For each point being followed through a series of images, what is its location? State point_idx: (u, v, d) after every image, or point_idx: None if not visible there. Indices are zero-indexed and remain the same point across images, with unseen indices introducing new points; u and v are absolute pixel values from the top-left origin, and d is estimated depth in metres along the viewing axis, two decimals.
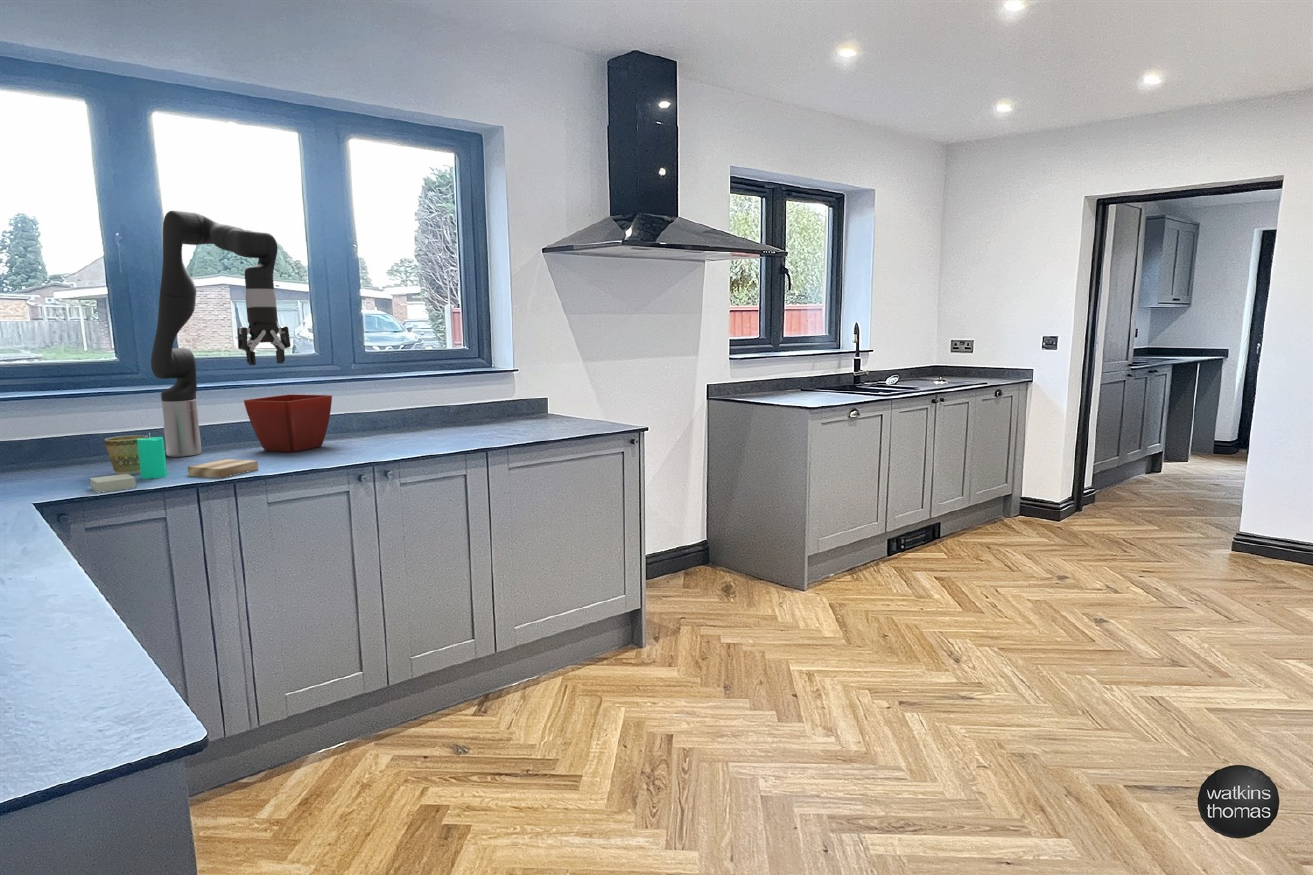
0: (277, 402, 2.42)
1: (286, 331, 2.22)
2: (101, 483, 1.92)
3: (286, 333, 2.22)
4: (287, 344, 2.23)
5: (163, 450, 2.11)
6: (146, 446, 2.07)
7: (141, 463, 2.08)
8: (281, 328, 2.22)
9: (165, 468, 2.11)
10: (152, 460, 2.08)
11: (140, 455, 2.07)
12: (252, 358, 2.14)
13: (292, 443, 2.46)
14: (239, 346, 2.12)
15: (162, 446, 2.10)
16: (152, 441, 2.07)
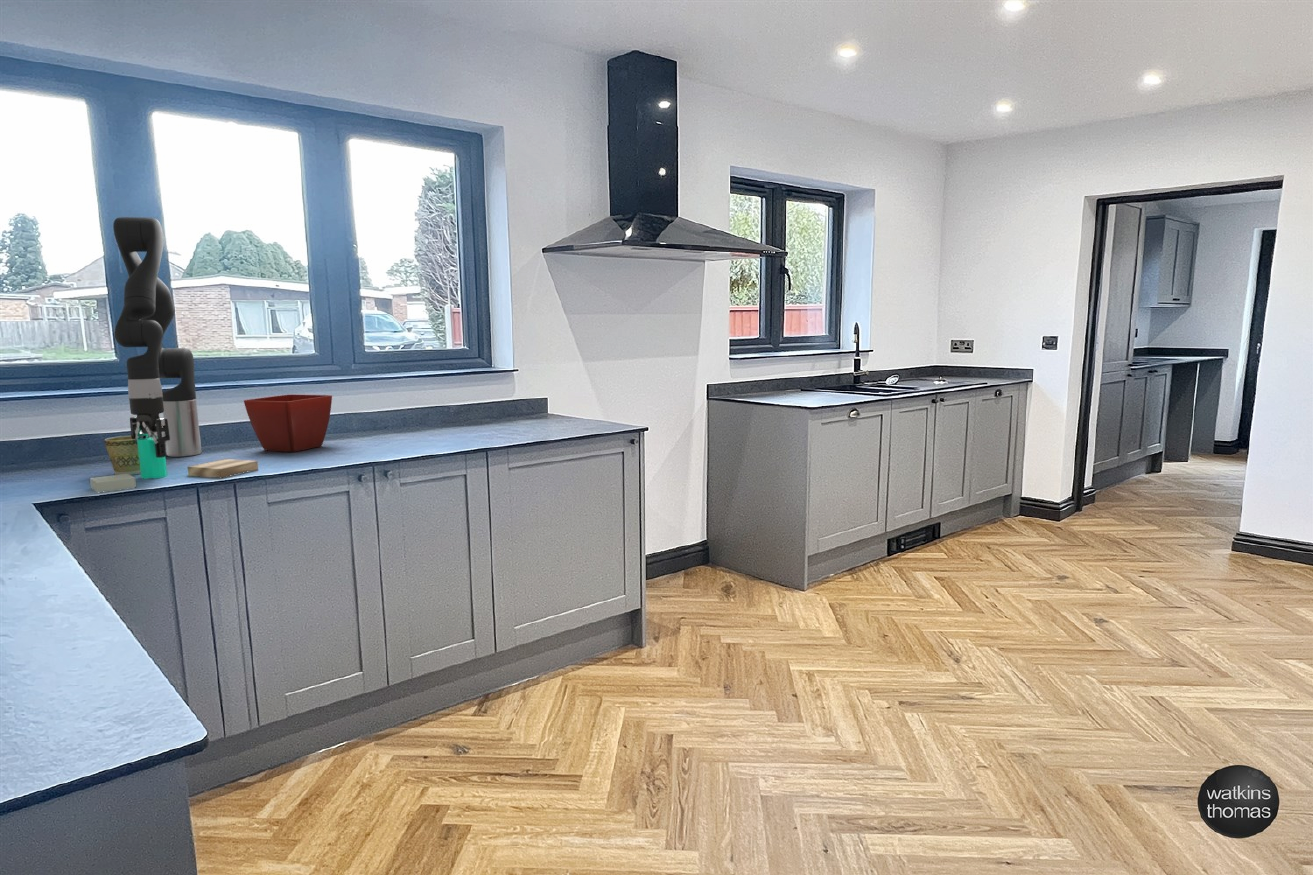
0: (277, 402, 2.42)
1: None
2: (101, 483, 1.92)
3: None
4: None
5: None
6: (146, 446, 2.07)
7: (141, 463, 2.08)
8: None
9: (165, 468, 2.11)
10: (152, 460, 2.08)
11: (140, 455, 2.07)
12: (164, 449, 2.08)
13: (292, 443, 2.46)
14: (162, 438, 2.05)
15: None
16: (152, 441, 2.07)
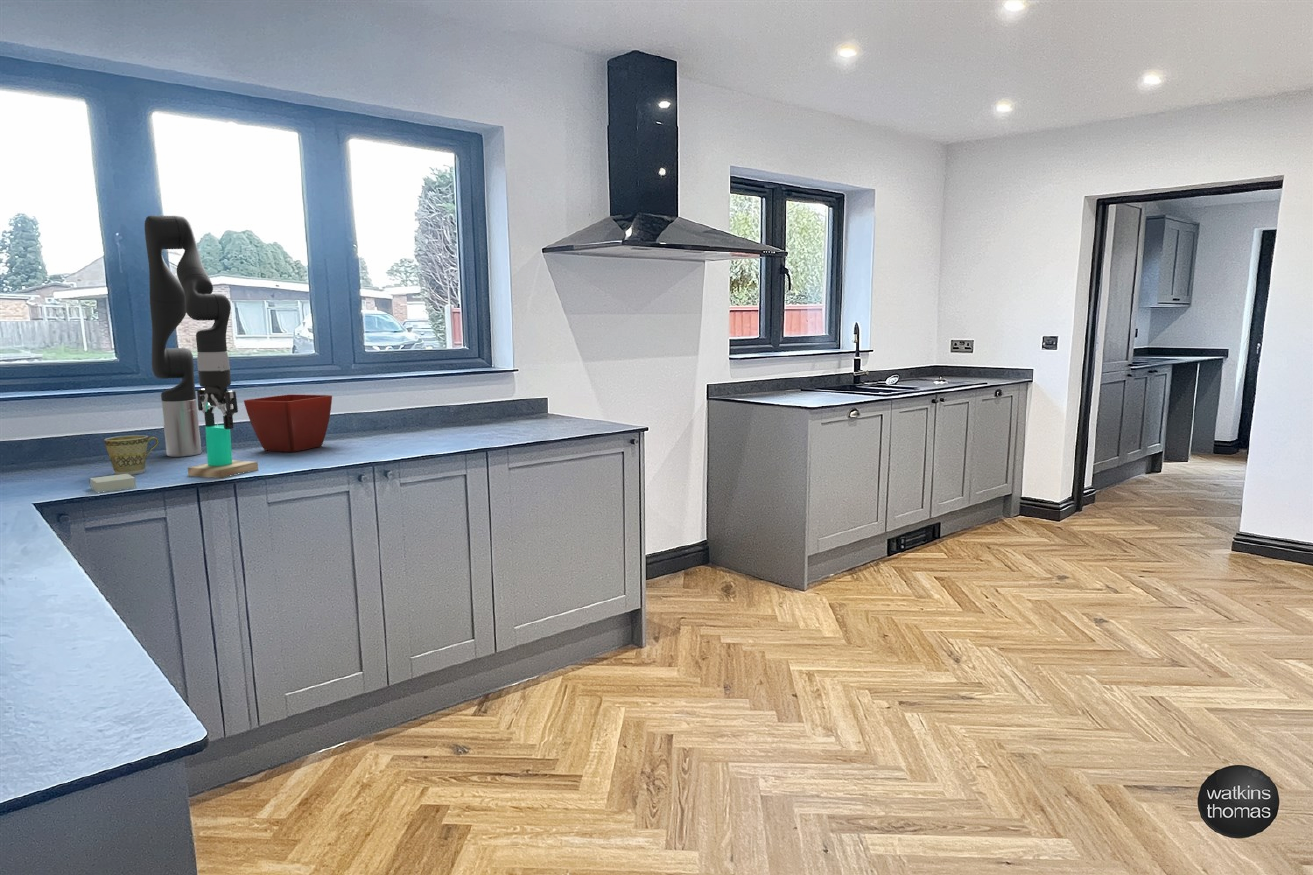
0: (277, 402, 2.42)
1: None
2: (101, 483, 1.92)
3: None
4: None
5: (230, 438, 2.16)
6: (217, 434, 2.12)
7: (210, 450, 2.12)
8: None
9: (231, 455, 2.17)
10: (222, 447, 2.13)
11: (210, 442, 2.12)
12: None
13: (292, 443, 2.46)
14: (231, 410, 2.09)
15: (230, 434, 2.15)
16: (223, 429, 2.13)
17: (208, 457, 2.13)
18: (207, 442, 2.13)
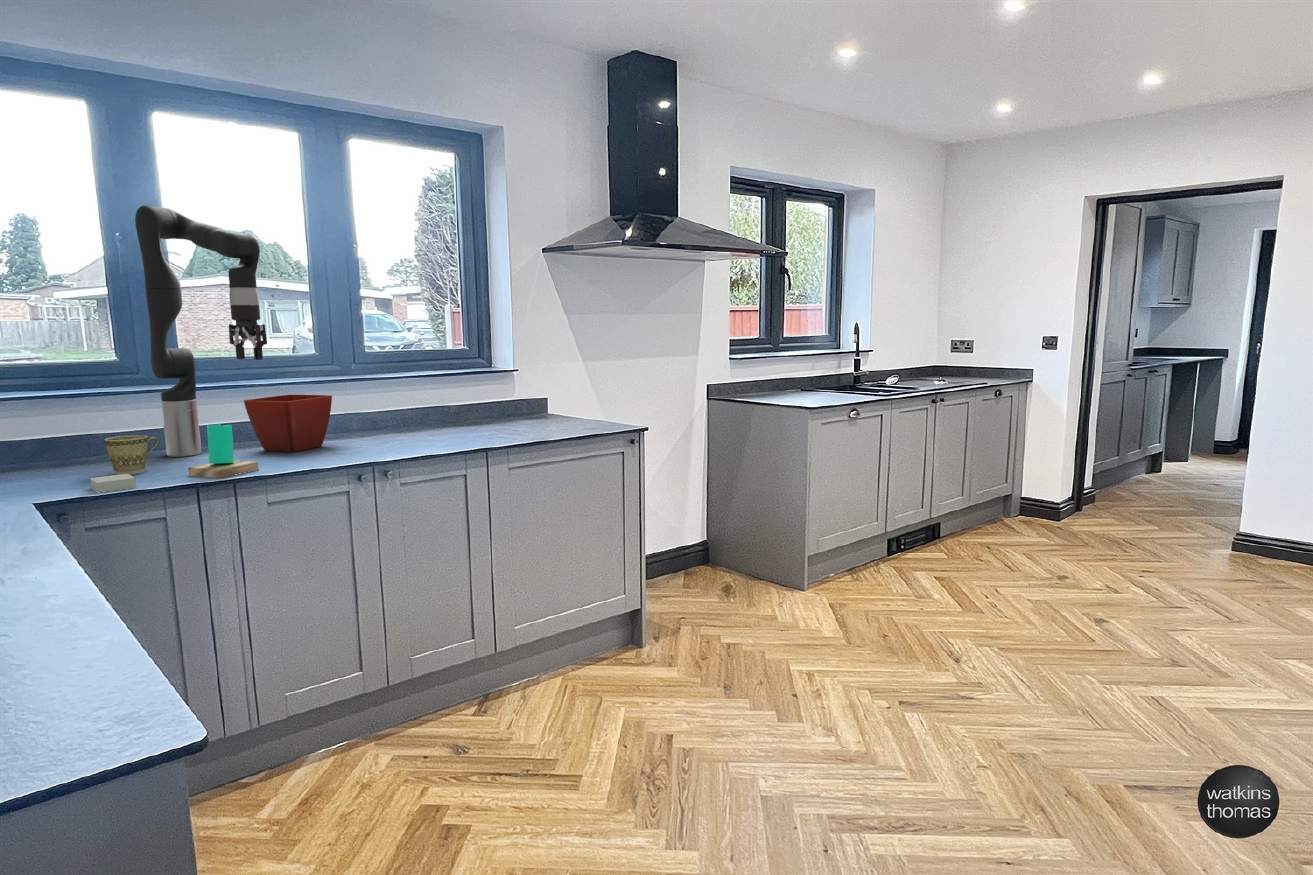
0: (277, 402, 2.42)
1: None
2: (101, 483, 1.92)
3: None
4: None
5: (231, 437, 2.16)
6: (217, 431, 2.12)
7: (211, 448, 2.13)
8: None
9: (232, 454, 2.16)
10: (222, 445, 2.13)
11: (210, 440, 2.13)
12: (261, 353, 2.29)
13: (292, 443, 2.46)
14: (260, 341, 2.25)
15: (231, 432, 2.16)
16: (223, 426, 2.13)
17: (209, 455, 2.13)
18: (208, 440, 2.13)
